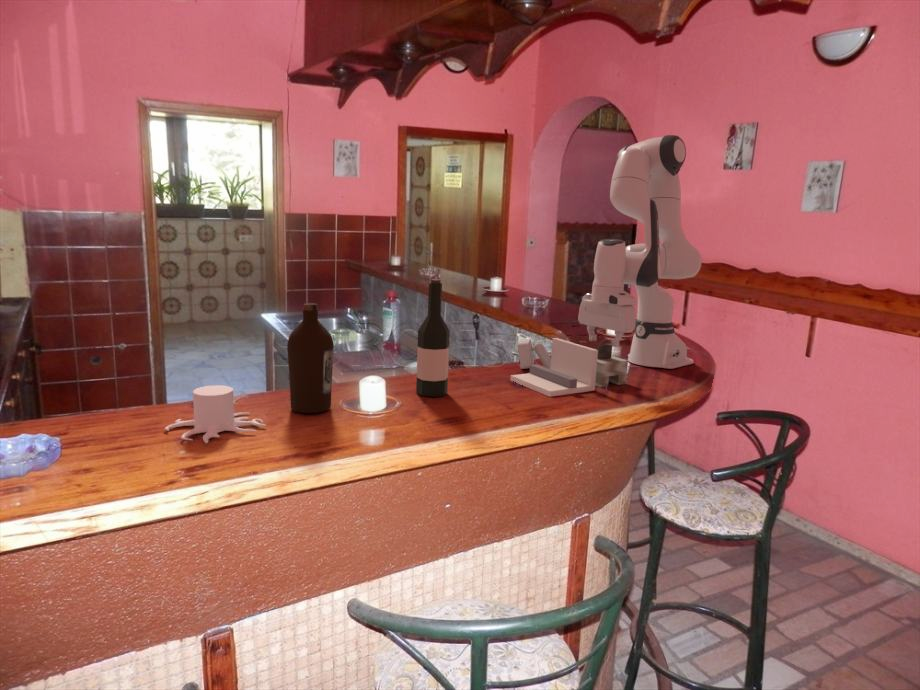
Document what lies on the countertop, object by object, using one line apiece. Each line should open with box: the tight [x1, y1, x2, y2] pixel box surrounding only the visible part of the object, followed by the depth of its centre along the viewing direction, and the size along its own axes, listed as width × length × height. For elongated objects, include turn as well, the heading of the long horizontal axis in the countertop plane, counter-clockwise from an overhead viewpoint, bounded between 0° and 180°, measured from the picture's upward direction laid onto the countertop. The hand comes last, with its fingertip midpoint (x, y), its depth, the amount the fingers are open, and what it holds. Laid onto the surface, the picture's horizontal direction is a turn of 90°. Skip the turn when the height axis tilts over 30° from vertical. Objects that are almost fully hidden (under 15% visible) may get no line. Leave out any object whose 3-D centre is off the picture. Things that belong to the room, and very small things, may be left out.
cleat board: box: [510, 337, 598, 398], centre depth 183 cm, size 16×18×12 cm
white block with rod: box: [517, 338, 551, 370], centre depth 201 cm, size 8×10×10 cm
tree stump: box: [164, 384, 267, 444], centre depth 141 cm, size 20×19×8 cm
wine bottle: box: [415, 278, 451, 398], centre depth 169 cm, size 8×8×30 cm
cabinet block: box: [595, 343, 629, 388], centre depth 190 cm, size 10×10×11 cm
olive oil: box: [286, 302, 335, 414], centre depth 153 cm, size 11×11×25 cm
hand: (603, 343), depth 189 cm, fingers open, 8 cm apart
